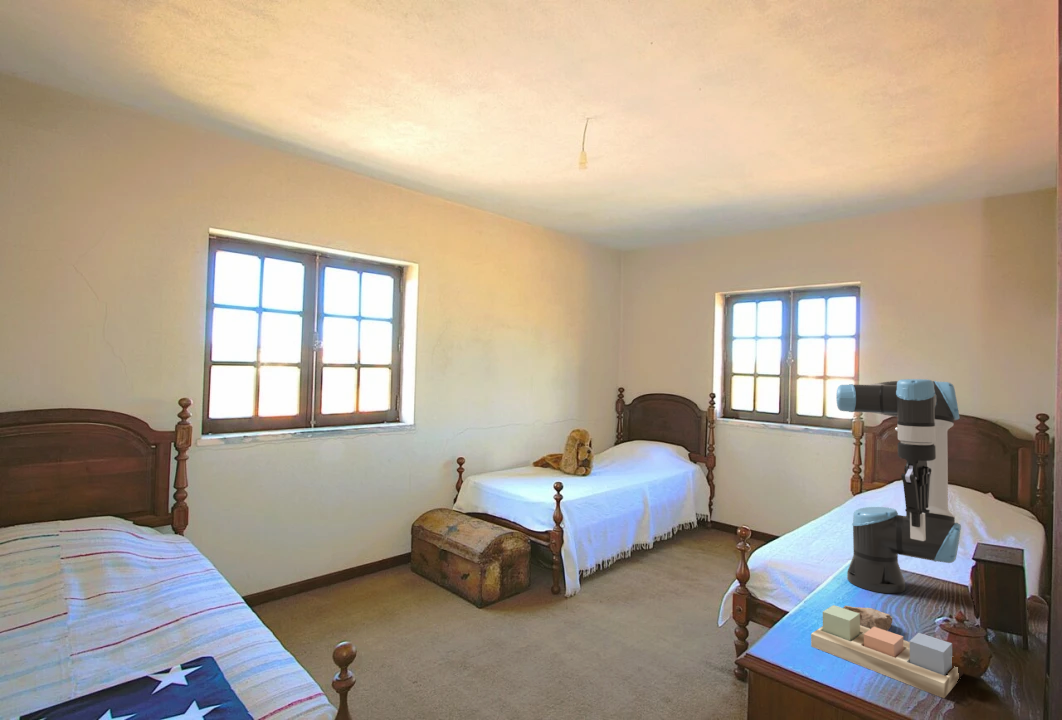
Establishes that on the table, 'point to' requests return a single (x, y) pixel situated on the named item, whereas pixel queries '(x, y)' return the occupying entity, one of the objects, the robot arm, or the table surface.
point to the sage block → (841, 622)
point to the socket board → (885, 662)
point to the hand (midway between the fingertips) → (917, 539)
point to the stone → (872, 617)
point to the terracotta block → (884, 641)
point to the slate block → (931, 653)
